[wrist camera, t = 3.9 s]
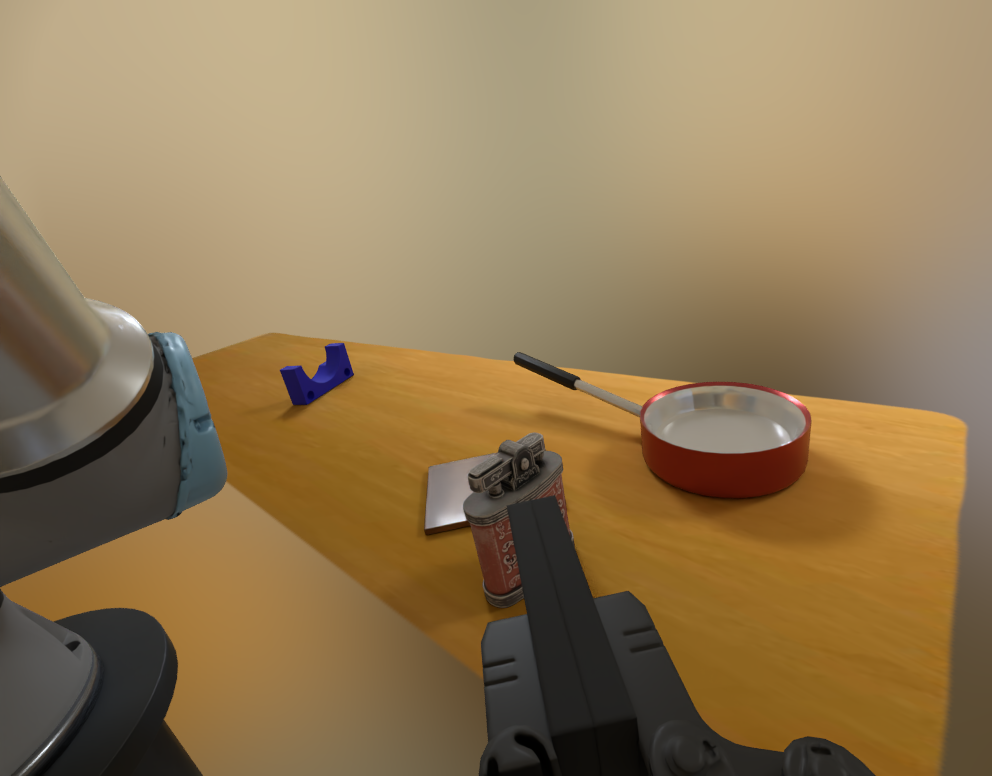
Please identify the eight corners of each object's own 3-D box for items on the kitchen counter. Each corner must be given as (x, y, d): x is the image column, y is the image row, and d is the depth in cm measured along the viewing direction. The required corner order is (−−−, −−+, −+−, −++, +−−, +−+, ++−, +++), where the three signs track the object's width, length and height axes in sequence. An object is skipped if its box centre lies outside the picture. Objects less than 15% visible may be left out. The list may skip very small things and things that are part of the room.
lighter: (550, 527, 37) (531, 415, 33) (585, 544, 34) (569, 426, 31) (474, 591, 32) (442, 469, 28) (507, 617, 30) (477, 487, 26)
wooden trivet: (425, 535, 39) (423, 529, 38) (430, 471, 48) (428, 466, 48) (566, 505, 39) (565, 499, 39) (543, 447, 48) (542, 442, 48)
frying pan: (474, 428, 55) (463, 379, 53) (543, 386, 63) (536, 341, 61) (778, 523, 33) (783, 446, 30) (825, 439, 41) (832, 372, 38)
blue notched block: (334, 375, 85) (323, 344, 83) (353, 374, 83) (343, 342, 81) (286, 404, 75) (272, 370, 73) (307, 404, 73) (294, 369, 71)
